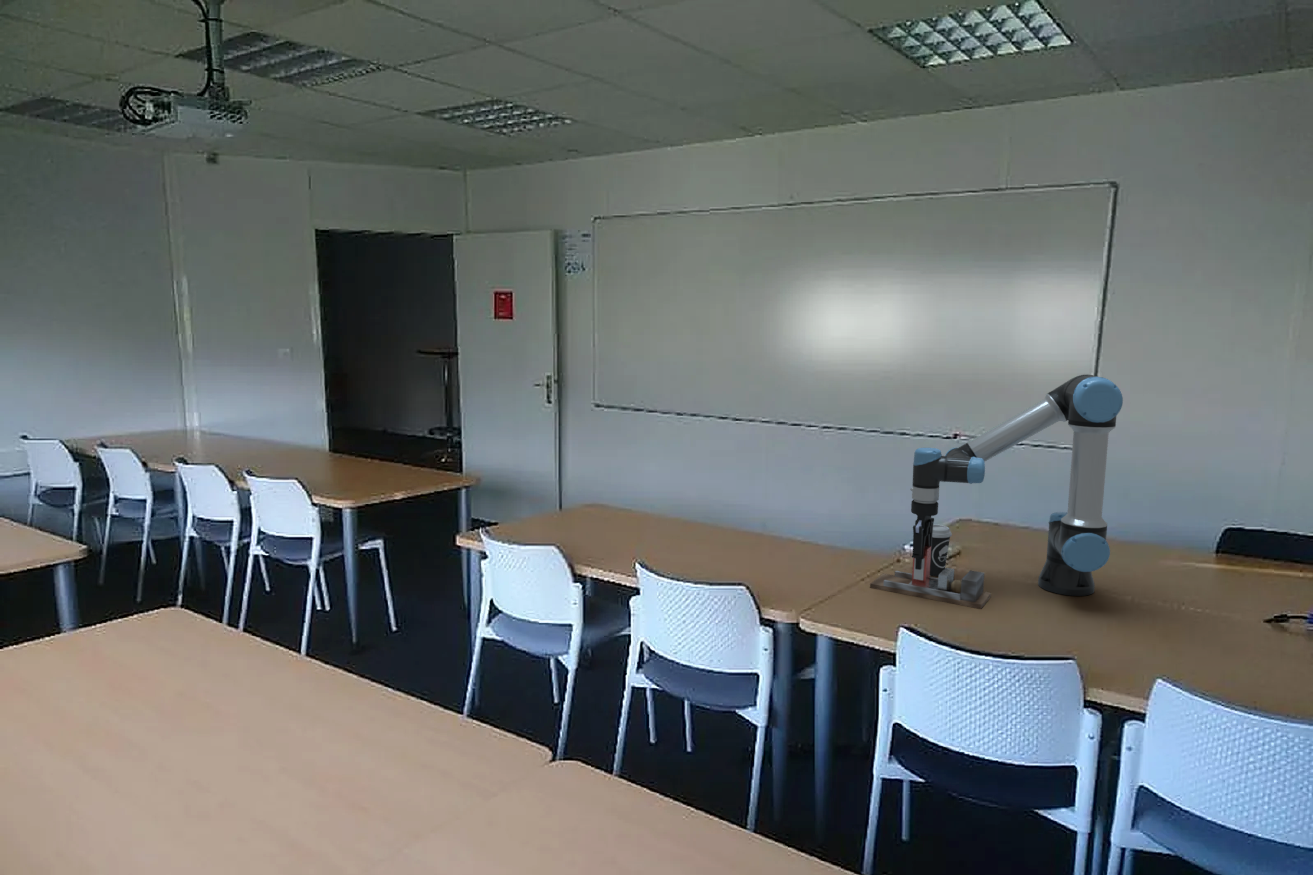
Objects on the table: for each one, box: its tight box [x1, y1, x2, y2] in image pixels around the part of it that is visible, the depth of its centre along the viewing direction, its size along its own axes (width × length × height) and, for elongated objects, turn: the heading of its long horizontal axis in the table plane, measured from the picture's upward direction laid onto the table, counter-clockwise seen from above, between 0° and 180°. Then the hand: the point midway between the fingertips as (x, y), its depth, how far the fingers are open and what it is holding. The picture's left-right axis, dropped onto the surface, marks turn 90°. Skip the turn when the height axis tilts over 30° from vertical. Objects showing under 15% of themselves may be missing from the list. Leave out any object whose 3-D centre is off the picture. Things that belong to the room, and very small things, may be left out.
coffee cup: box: [930, 523, 953, 577], centre depth 258 cm, size 10×10×15 cm
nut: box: [951, 579, 962, 594], centre depth 236 cm, size 4×4×4 cm
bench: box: [869, 570, 992, 610], centre depth 240 cm, size 32×12×7 cm, turn 56°
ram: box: [909, 545, 955, 592], centre depth 240 cm, size 11×8×12 cm
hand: (920, 576), depth 242 cm, fingers closed on ram, 4 cm apart
